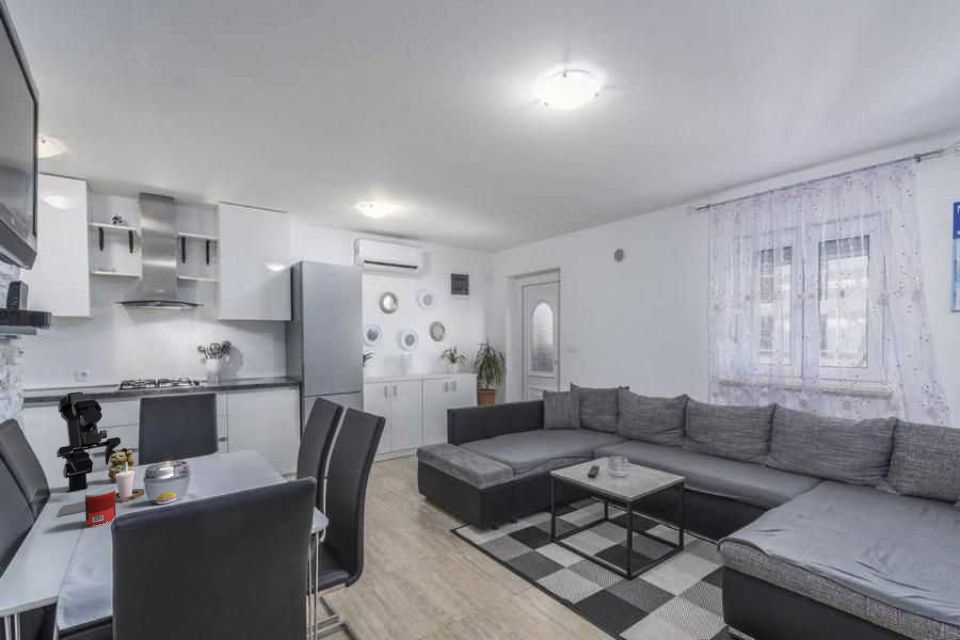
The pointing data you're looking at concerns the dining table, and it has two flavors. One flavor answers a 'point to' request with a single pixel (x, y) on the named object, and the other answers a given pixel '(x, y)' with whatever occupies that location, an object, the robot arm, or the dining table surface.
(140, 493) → the collar
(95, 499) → the canned food
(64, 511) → the coaster
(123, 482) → the smoothie
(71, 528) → the dining table surface
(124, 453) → the decorative figurine
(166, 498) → the supplement bottle
